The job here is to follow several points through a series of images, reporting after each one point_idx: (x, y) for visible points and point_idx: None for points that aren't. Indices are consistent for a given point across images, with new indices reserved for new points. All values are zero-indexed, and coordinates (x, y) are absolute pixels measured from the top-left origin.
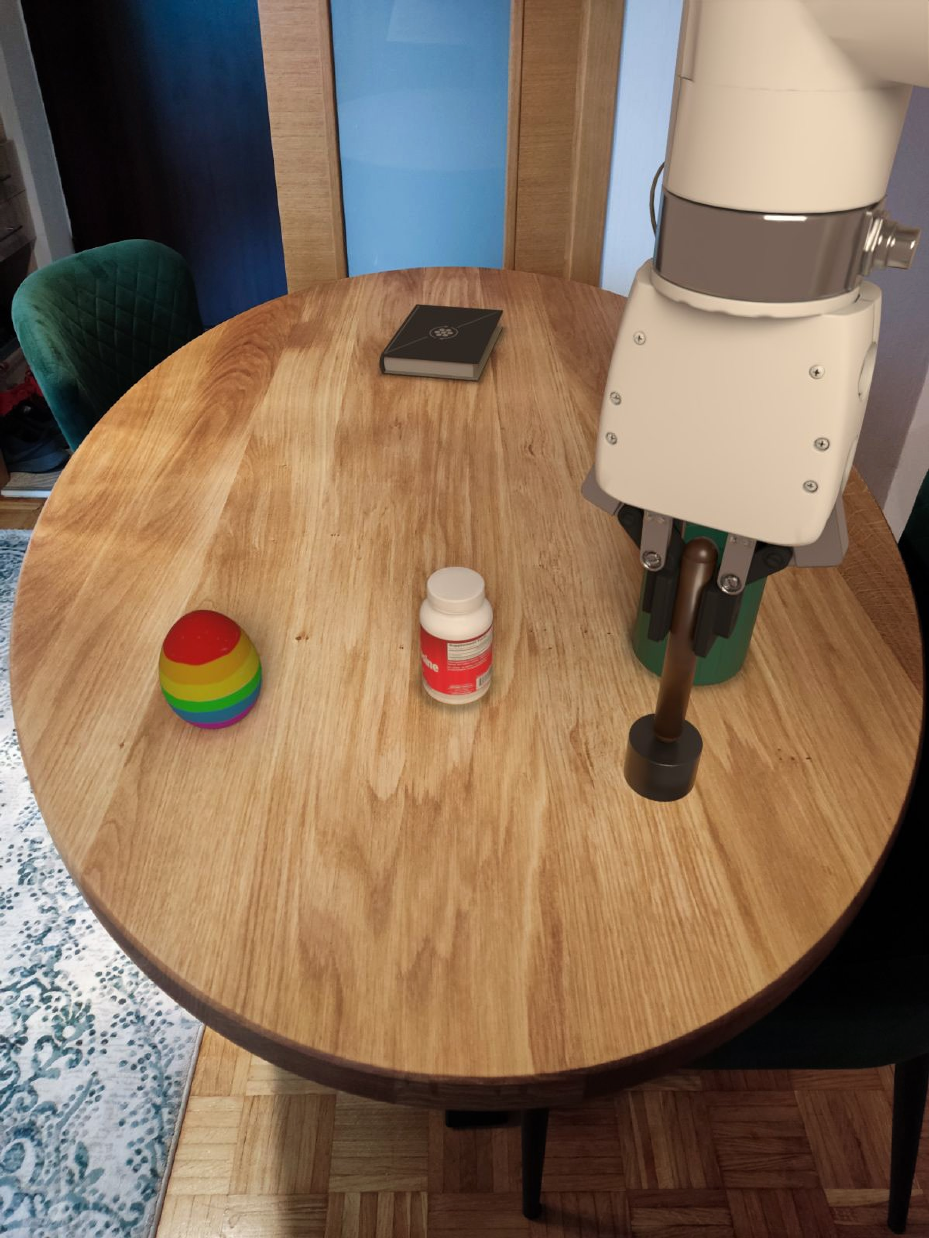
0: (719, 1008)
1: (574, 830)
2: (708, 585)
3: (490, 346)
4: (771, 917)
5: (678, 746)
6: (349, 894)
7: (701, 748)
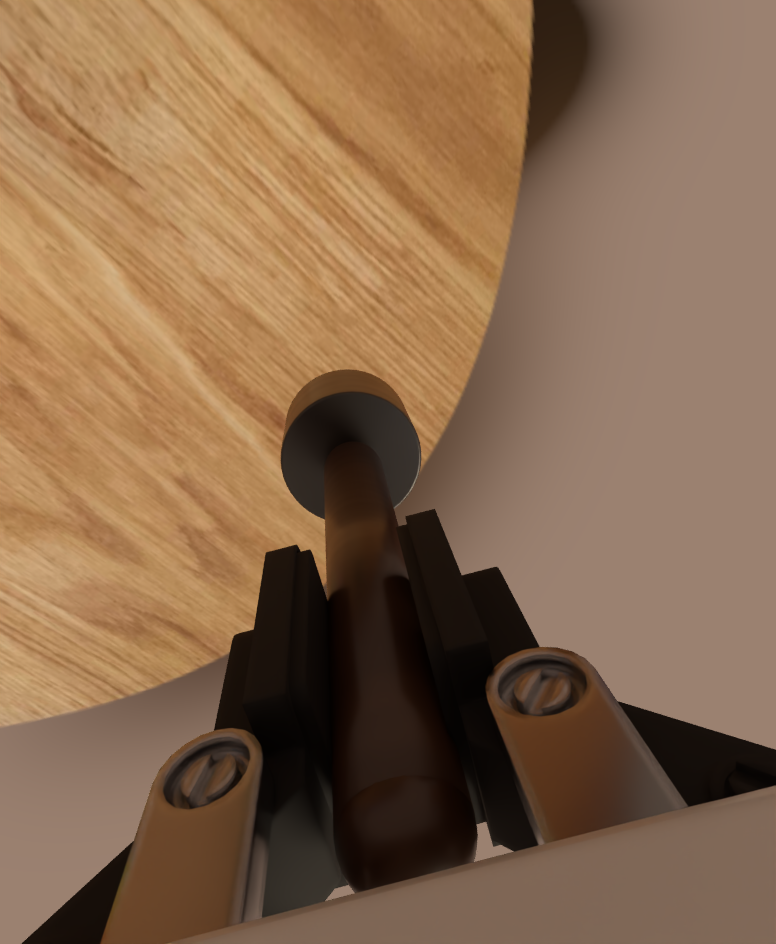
0: (470, 362)
1: (184, 280)
2: (473, 804)
3: None
4: (461, 206)
5: (381, 461)
6: (71, 554)
7: (415, 435)
